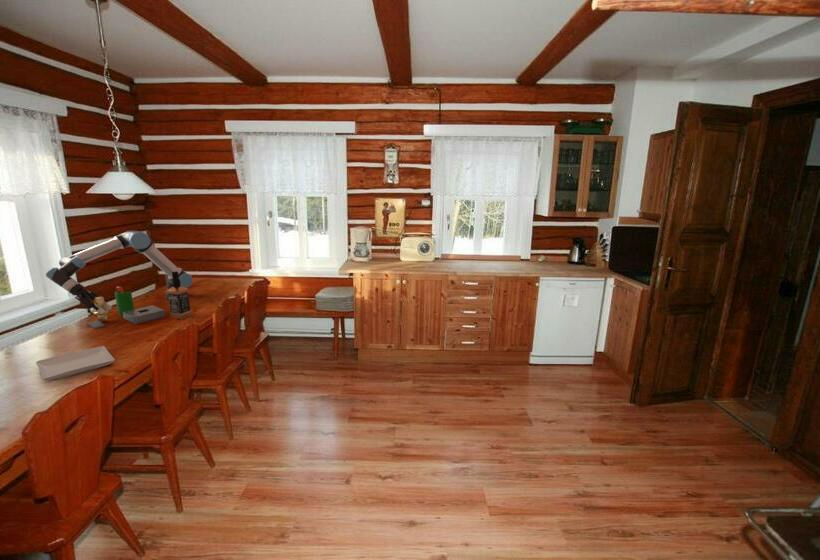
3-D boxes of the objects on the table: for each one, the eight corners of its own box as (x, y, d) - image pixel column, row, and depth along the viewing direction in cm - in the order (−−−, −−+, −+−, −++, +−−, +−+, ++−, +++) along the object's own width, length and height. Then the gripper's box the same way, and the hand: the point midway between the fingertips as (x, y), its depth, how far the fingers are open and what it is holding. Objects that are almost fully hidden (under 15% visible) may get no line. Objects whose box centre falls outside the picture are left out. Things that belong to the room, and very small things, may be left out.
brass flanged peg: (107, 316, 257) (103, 295, 253) (112, 319, 253) (108, 297, 249) (92, 320, 251) (88, 298, 247) (97, 322, 246) (93, 300, 243)
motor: (138, 311, 276) (133, 284, 271) (128, 315, 267) (123, 287, 262) (125, 311, 277) (120, 284, 272) (114, 315, 268) (109, 287, 263)
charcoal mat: (112, 318, 262) (111, 317, 262) (120, 322, 254) (120, 321, 254) (86, 324, 251) (86, 323, 250) (94, 328, 243) (94, 327, 243)
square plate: (116, 366, 195) (115, 359, 194) (43, 386, 176) (41, 378, 175) (104, 350, 213) (103, 344, 212) (37, 367, 193) (35, 360, 192)
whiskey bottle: (169, 318, 262) (162, 272, 254) (181, 314, 271) (175, 269, 264) (181, 320, 259) (174, 274, 251) (193, 315, 268) (187, 270, 261)
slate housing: (153, 313, 273) (152, 305, 271) (165, 318, 263) (164, 310, 261) (124, 320, 258) (122, 311, 257) (135, 326, 248) (134, 317, 247)
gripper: (79, 287, 254) (111, 309, 261) (58, 296, 235) (94, 319, 241) (87, 279, 253) (119, 301, 260) (67, 287, 234) (102, 311, 241)
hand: (107, 310), depth 251 cm, fingers closed on brass flanged peg, 7 cm apart
